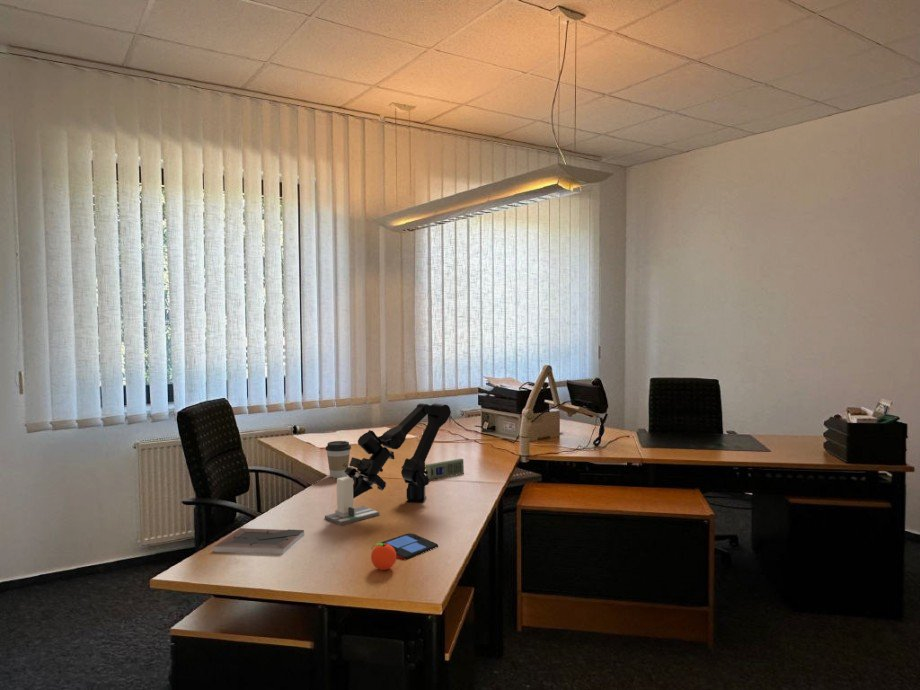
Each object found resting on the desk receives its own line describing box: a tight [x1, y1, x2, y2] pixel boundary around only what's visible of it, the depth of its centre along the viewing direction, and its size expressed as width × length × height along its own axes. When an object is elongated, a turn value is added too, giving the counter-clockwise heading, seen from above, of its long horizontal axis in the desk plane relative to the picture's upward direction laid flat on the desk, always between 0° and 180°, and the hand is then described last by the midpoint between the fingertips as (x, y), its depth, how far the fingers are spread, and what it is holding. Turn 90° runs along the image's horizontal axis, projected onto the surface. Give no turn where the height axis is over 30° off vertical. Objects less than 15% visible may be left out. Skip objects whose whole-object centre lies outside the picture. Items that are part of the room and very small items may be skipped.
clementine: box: [370, 542, 397, 571], centre depth 172 cm, size 8×7×7 cm
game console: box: [380, 532, 439, 560], centre depth 187 cm, size 14×13×2 cm
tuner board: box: [324, 505, 380, 526], centre depth 218 cm, size 16×10×1 cm, turn 133°
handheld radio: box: [424, 458, 465, 481], centre depth 273 cm, size 7×3×25 cm
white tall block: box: [335, 476, 356, 518], centre depth 215 cm, size 5×7×13 cm
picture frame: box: [213, 527, 305, 555], centre depth 193 cm, size 16×2×22 cm
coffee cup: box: [324, 440, 352, 479], centre depth 275 cm, size 11×11×15 cm
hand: (350, 498), depth 217 cm, fingers closed, pressing on white tall block
